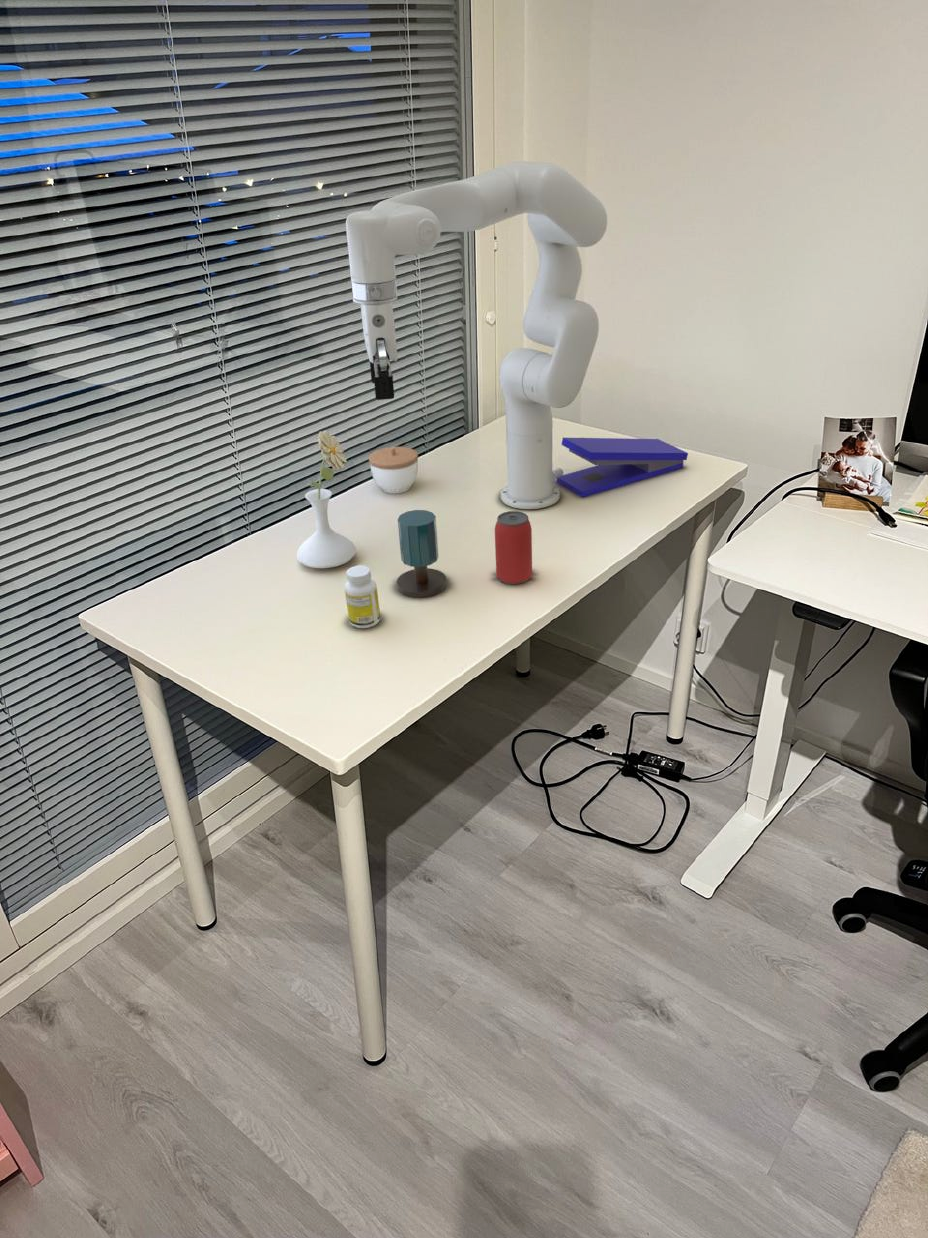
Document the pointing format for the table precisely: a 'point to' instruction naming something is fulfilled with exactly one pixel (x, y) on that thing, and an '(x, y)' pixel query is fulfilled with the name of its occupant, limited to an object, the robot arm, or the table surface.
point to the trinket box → (394, 468)
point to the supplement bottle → (361, 598)
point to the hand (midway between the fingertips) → (382, 390)
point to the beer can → (513, 547)
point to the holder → (421, 582)
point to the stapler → (618, 462)
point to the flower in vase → (325, 515)
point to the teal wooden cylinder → (418, 538)
